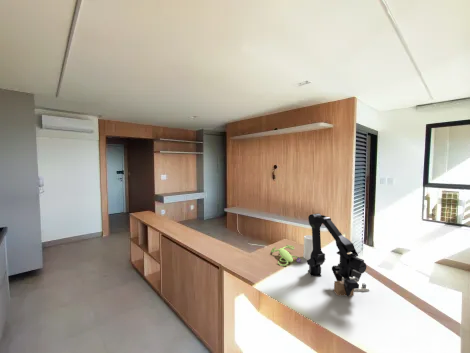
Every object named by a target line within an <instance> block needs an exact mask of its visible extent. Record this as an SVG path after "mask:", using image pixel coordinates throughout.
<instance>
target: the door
mask: <svg viewBox="0 0 470 353" xmlns="http://www.w3.org/2000/svg"><path fill="white" fill-rule="evenodd" d="M333 284H334V286H333V291H334V293H335V294H336V296H347V295H346V292H345V288H344V281H337V280H334V283H333ZM354 292H355V291H354V289H353V290H352V291H351V293H350V295H349V296H354V295H355V293H354Z"/></svg>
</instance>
